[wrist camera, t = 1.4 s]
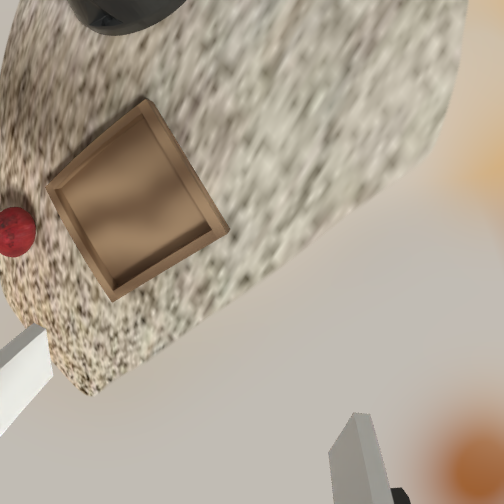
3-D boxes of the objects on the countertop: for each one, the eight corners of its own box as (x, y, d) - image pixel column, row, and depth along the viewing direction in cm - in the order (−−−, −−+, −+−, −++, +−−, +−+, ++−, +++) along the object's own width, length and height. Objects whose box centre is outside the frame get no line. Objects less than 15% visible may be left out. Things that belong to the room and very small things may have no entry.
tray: (55, 185, 31) (45, 187, 29) (153, 102, 28) (145, 98, 26) (119, 295, 34) (112, 302, 32) (230, 229, 31) (227, 233, 29)
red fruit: (31, 192, 31) (-15, 202, 24) (54, 227, 32) (10, 243, 24) (12, 224, 33) (-30, 238, 25) (35, 256, 33) (-7, 277, 26)
